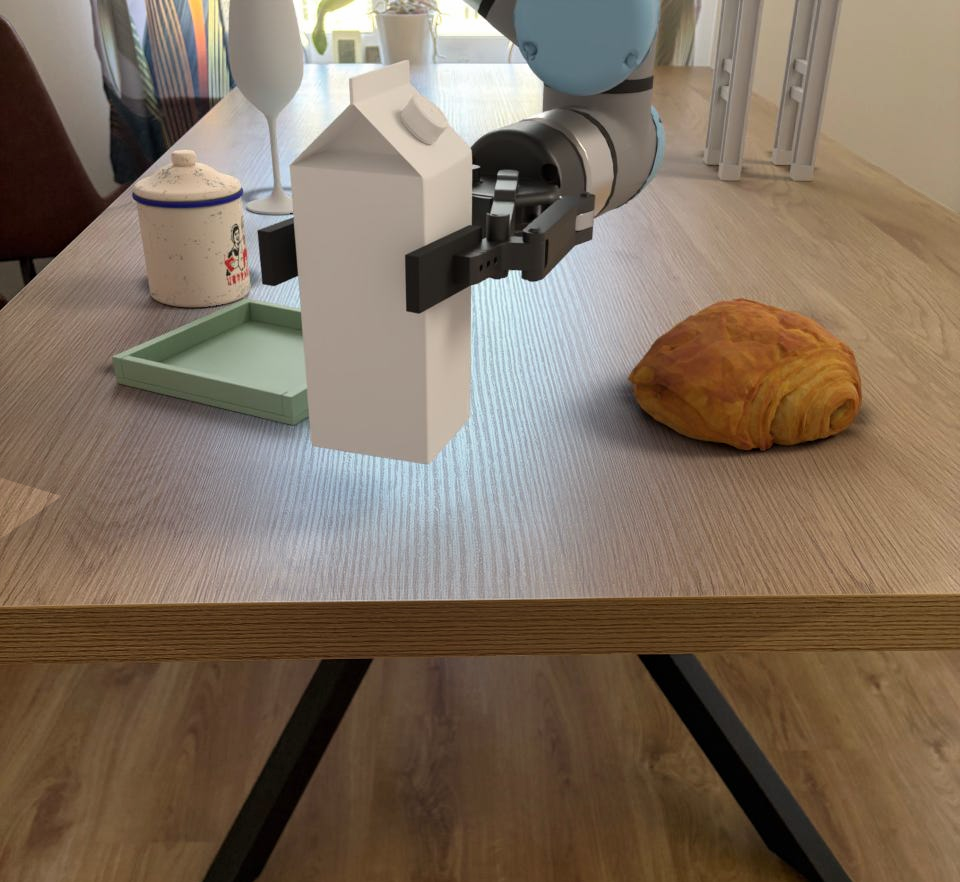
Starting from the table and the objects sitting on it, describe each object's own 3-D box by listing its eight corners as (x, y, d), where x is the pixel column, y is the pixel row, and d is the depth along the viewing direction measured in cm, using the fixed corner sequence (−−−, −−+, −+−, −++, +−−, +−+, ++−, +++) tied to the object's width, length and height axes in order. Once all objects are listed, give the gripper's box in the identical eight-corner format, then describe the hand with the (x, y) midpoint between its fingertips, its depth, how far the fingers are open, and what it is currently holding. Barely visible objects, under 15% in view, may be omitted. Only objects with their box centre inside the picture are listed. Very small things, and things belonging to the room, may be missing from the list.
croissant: (743, 388, 87) (751, 281, 83) (897, 434, 75) (914, 311, 71) (586, 416, 81) (588, 302, 78) (725, 471, 69) (734, 339, 65)
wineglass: (283, 218, 120) (264, -7, 109) (230, 208, 124) (206, -11, 112) (327, 204, 126) (313, -12, 114) (275, 195, 129) (256, -15, 117)
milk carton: (310, 449, 63) (280, 74, 52) (361, 403, 68) (344, 56, 58) (428, 468, 61) (423, 83, 50) (471, 419, 67) (474, 63, 56)
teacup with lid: (253, 307, 95) (238, 161, 89) (143, 311, 94) (120, 164, 88) (253, 267, 105) (240, 133, 99) (154, 271, 104) (134, 135, 97)
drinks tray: (116, 383, 81) (111, 356, 80) (249, 321, 92) (246, 297, 91) (293, 425, 75) (291, 397, 74) (412, 354, 86) (411, 329, 85)
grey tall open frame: (708, 184, 136) (750, -170, 117) (684, 157, 149) (719, -166, 129) (833, 184, 137) (896, -168, 117) (799, 158, 150) (851, -164, 130)
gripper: (681, 266, 70) (523, 383, 54) (397, 222, 78) (182, 312, 61) (696, 137, 66) (529, 220, 49) (394, 104, 74) (162, 166, 57)
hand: (337, 271), depth 55 cm, fingers closed on milk carton, 8 cm apart
